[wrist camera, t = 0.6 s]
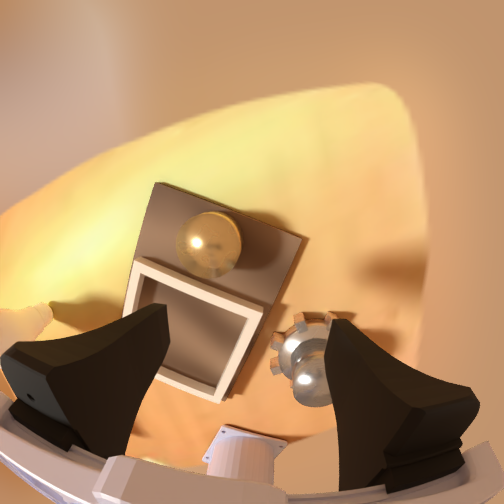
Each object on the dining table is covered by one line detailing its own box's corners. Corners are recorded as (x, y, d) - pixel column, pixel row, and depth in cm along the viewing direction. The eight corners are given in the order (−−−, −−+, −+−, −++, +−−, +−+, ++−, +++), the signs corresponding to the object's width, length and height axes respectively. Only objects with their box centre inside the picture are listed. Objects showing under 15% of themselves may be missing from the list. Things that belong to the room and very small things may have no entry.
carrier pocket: (221, 396, 24) (219, 404, 23) (121, 352, 24) (116, 358, 23) (263, 307, 21) (262, 313, 20) (140, 256, 21) (134, 259, 20)
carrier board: (225, 398, 25) (224, 401, 24) (118, 351, 24) (116, 354, 24) (301, 238, 20) (301, 239, 20) (157, 182, 20) (155, 182, 20)
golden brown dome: (231, 276, 21) (226, 288, 19) (179, 255, 21) (168, 264, 18) (252, 223, 20) (249, 228, 18) (197, 202, 20) (187, 204, 17)
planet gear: (328, 388, 24) (337, 428, 18) (255, 367, 23) (251, 408, 18) (368, 325, 22) (390, 360, 16) (291, 297, 22) (296, 331, 16)
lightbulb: (76, 325, 24) (12, 378, 14) (52, 338, 25) (-4, 384, 15) (49, 276, 23) (-24, 314, 12) (27, 295, 24) (-34, 331, 13)
